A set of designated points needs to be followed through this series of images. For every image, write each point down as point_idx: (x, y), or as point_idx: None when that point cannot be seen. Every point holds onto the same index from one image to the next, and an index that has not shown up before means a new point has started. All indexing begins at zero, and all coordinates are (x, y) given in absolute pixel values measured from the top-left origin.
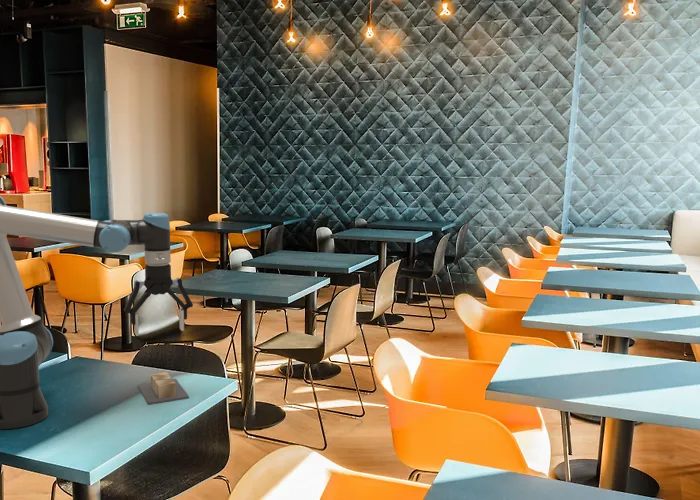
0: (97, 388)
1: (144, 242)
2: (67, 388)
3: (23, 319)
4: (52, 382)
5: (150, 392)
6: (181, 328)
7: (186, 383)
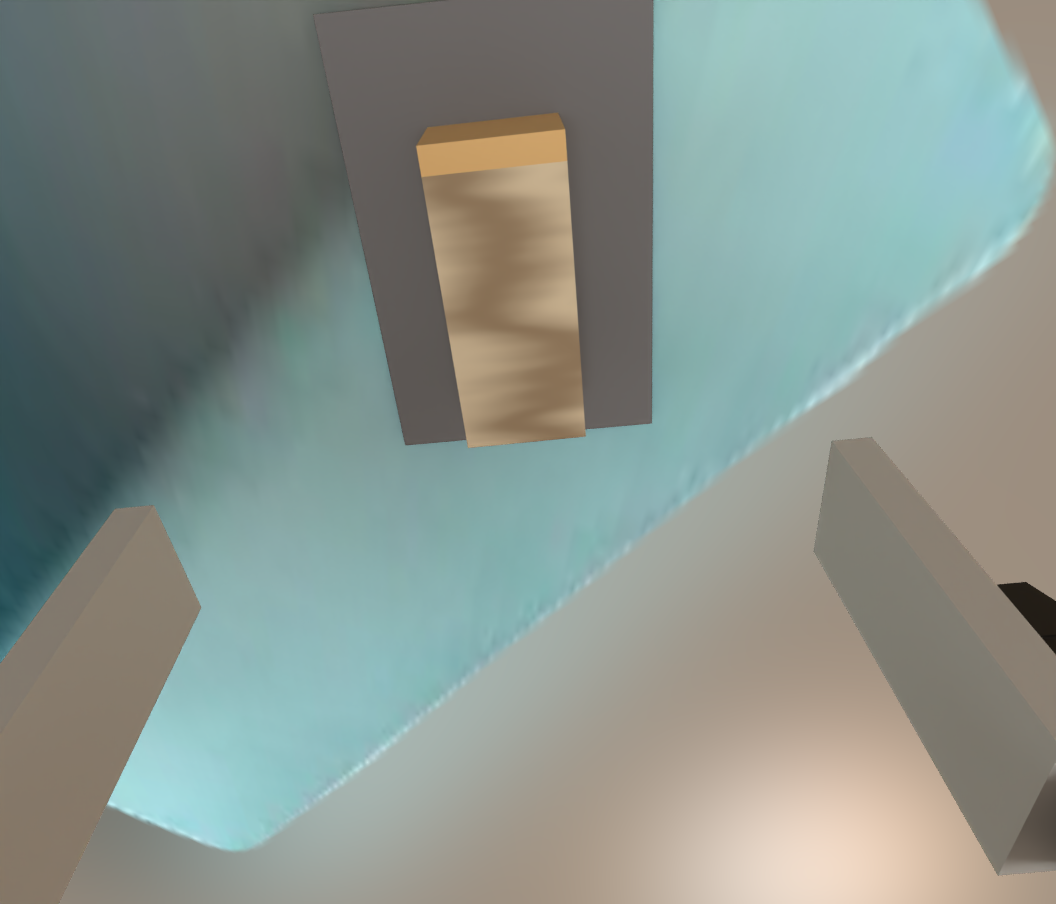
0: None
1: None
2: None
3: None
4: None
5: (420, 266)
6: (828, 570)
7: (713, 105)
